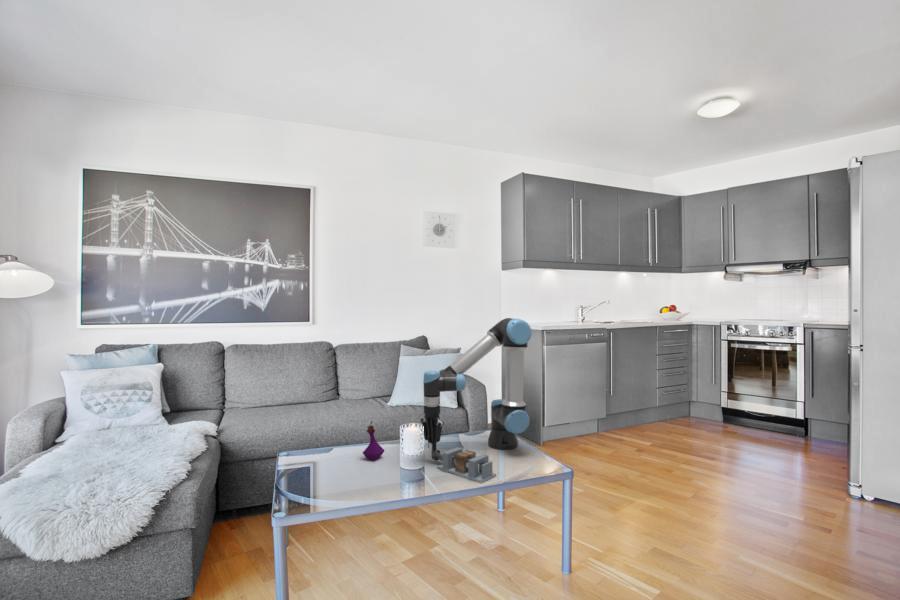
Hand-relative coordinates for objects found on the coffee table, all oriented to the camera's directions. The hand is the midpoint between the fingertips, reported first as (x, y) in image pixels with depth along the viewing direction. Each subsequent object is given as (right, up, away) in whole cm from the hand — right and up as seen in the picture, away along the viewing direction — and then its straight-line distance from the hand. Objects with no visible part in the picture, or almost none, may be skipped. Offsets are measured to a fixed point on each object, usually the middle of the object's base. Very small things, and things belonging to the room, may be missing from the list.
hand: (432, 456), depth 215 cm
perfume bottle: (-28, -3, +5) cm, 28 cm away
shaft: (+10, -1, -9) cm, 13 cm away
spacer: (+15, -1, -14) cm, 20 cm away
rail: (+15, -2, -14) cm, 20 cm away
